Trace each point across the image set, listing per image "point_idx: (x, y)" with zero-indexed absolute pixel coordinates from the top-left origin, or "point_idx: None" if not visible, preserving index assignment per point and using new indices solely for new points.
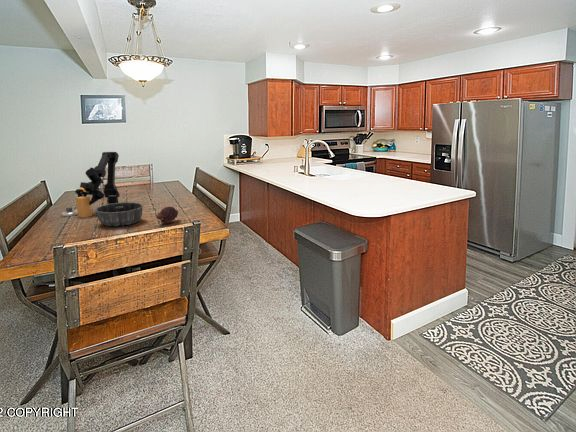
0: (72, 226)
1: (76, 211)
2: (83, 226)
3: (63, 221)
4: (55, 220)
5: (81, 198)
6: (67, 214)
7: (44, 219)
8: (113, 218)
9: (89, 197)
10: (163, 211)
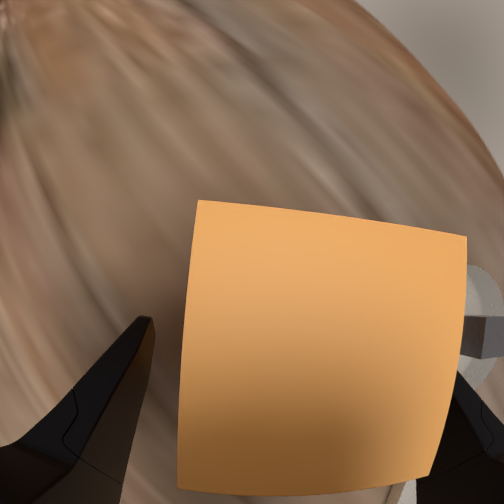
0: (144, 26)
1: None
2: (75, 47)
3: (326, 107)
4: (413, 135)
5: (249, 205)
6: None
7: (492, 163)
8: None
9: (180, 472)
10: None
